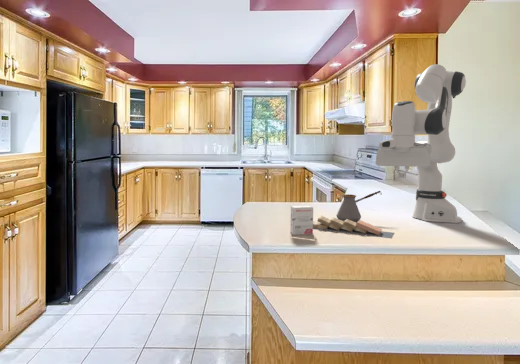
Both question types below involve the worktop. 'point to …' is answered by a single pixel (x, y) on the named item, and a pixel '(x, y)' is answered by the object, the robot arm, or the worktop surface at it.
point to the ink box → (301, 220)
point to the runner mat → (382, 234)
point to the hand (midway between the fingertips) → (401, 177)
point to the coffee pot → (351, 208)
